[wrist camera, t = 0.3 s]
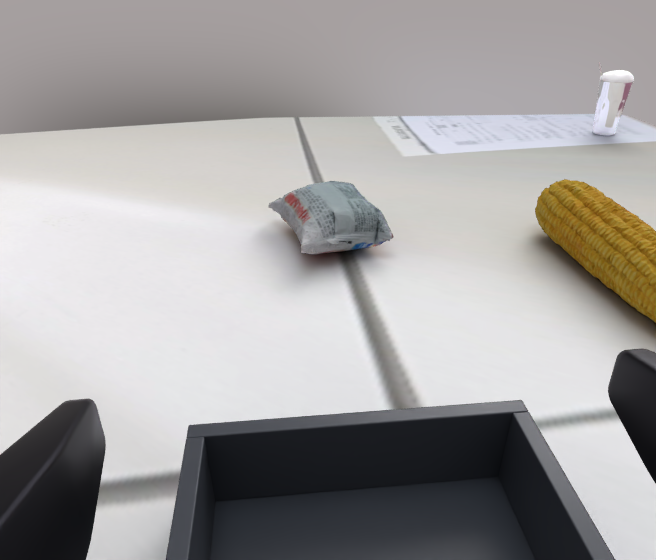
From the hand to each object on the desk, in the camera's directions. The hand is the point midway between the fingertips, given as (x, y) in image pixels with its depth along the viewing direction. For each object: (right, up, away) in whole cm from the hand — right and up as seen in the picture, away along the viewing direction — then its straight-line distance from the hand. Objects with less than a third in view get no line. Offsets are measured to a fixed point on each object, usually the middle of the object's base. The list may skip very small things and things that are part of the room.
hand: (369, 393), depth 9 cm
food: (+23, +2, +36) cm, 43 cm away
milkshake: (+42, +25, +75) cm, 89 cm away
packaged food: (-1, +6, +43) cm, 43 cm away
